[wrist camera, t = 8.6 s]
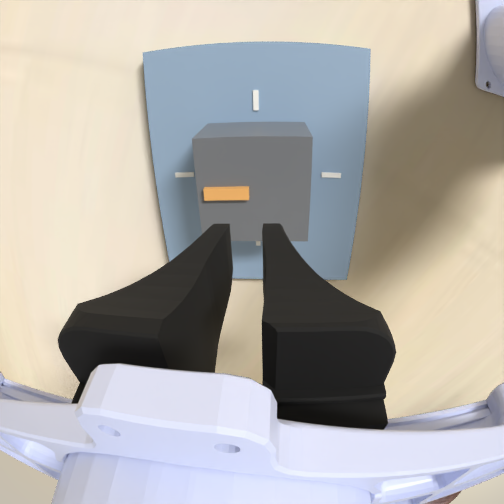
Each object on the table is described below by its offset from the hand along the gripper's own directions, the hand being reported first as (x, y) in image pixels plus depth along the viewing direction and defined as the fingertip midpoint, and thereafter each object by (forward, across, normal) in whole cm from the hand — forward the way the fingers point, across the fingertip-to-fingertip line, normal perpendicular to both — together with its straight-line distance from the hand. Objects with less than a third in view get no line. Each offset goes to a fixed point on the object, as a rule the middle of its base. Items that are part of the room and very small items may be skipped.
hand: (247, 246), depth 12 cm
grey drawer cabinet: (+8, 0, 0) cm, 8 cm away
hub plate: (+9, 0, 0) cm, 9 cm away
